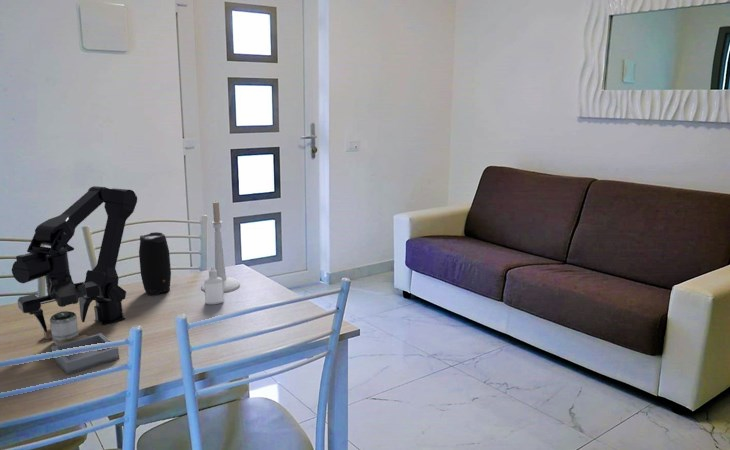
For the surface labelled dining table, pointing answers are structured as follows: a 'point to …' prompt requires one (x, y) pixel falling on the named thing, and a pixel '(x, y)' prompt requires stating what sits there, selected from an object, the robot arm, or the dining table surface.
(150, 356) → the dining table surface
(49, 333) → the lens cradle
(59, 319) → the camera lens
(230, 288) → the candlestick
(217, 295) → the eye dropper bottle
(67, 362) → the tray
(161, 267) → the portable speaker
